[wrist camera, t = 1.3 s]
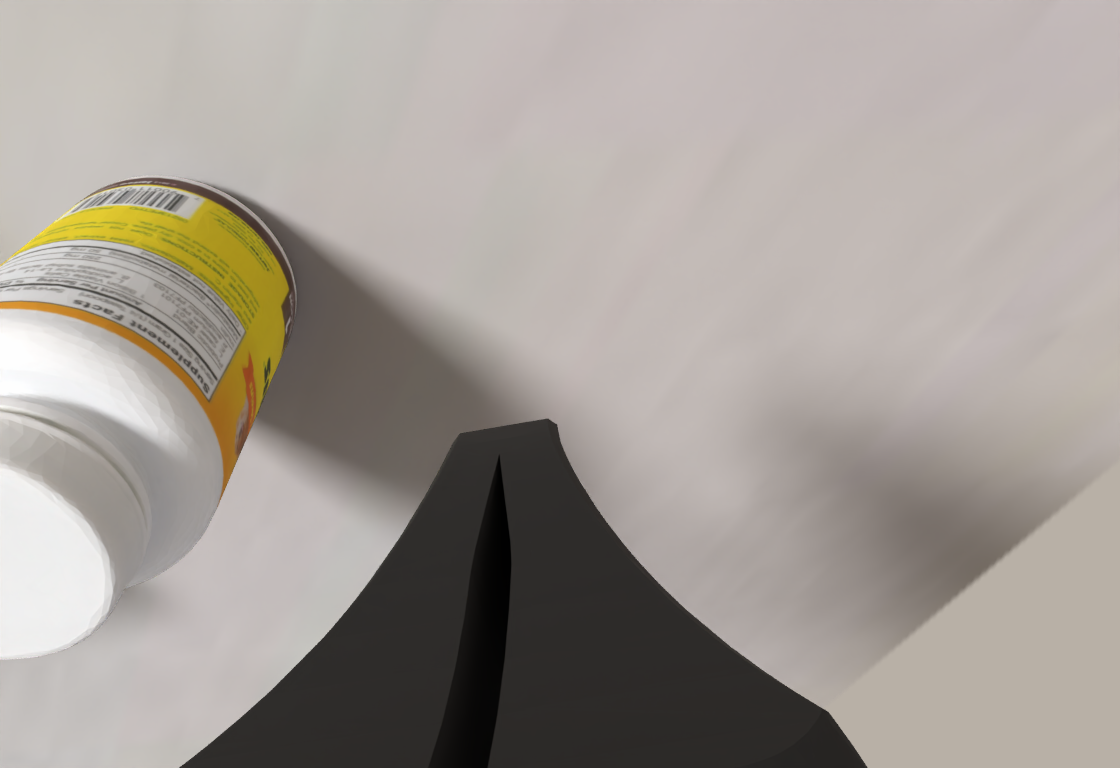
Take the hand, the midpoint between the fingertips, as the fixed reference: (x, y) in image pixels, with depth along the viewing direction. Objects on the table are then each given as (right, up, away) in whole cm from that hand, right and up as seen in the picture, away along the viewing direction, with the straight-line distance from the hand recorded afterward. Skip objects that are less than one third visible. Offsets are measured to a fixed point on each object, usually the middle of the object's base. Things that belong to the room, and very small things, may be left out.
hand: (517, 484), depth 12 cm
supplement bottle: (-9, +4, +9) cm, 13 cm away
